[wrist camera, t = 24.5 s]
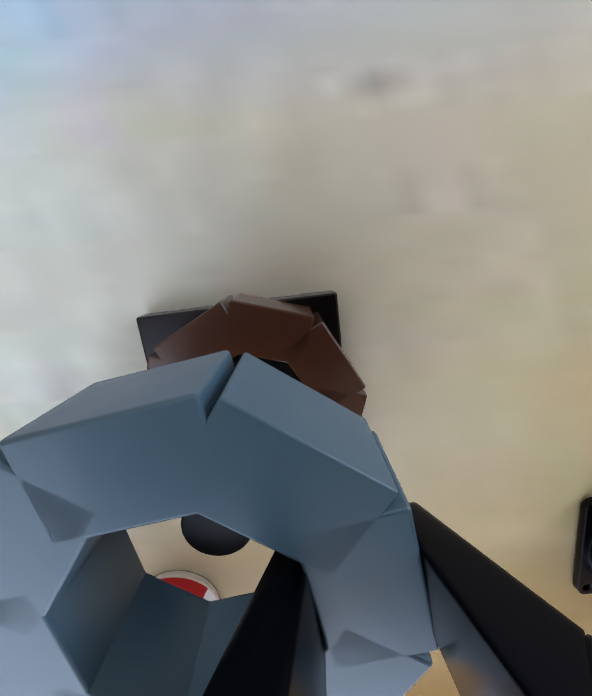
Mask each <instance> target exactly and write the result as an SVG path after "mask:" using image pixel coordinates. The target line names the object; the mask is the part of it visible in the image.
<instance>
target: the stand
mask: <svg viewBox="0 0 592 696" xmlns="http://www.w3.org/2000/svg"><path fill="white" fill-rule="evenodd" d="M268 299H272V300H277V301H283V302H288V303H293V304H298V305H303V306H308V307H310V308H311V311H312V313H315V312H318V313H319V315H320V316H321V318H322V320H323V321H324V323H325V324H326V326H327V327H328V329H329V330H330V332H331V333H332V335H333V336H334V338H335V339H336V341H337V342H338V344H339V345H340V347H341V348H342V345H341V334H340V323H339V313H338V302H337V294H336V292H334V291H324V292H316V293H308V294H300V295H292V296H284V297H276V298H268ZM213 306H214V305H213ZM213 306H205V307H197V308H189V309H181V310H173V311H165V312H157V313H150V314H145V315H143V316H140V317H138V318H137V324H138V328H139V332H140V336H141V340H142V344H143V348H144V352H145V356H146V360H147V364H148V357H149V356H150V355H151V354H153V353H154V352H155V351H154V350H153V348H154V347H155V346H157V345H158V344H160V343H161V342H162V341H164V340H165V339H167V338H168V337H170V336H171V335H173V334H174V333H175V332H177V331H178V330H180V329H181V328H183V327H184V326H185V325H187V324H188V323H190V322H191V321H193V320H194V319H195V318H197V317H198V316H200V315H201V314H203V313H204V312H206V311H207V310H208V309H210V308H211V307H213ZM241 357H242V355H241V354H238V355H237V356H235V357H234V358H232V360H233V363H234V366H235V367H236V365H237V364H238V362H239V360H240V359H241ZM256 358H258V357H256ZM258 359H260V360H261V361H263V362H265V363H267V364H268V365H270V366H272V367H274V368H276V369H277V370H279V371H281V372H283V373H284V374H286V375H288V376H290V377H292V378H293V379H295V380H297V381H299V382H301V381H300V380H299V378H298V377H297V376H296V374H295V373H294V371H293V370H292V369H291V367H290V366H289V364H288V363H285V362H279V361H274V360H268V359H263V358H258ZM181 528H182V533H183V535H184V537H185V539H186V540H187V542H188V543H189V544H190V545H191V546H192V547H193V548H195V549H196V550H198V551H200V552H202V553H205V554H208V555H214V556H223V555H229V554H232V553H234V552H237V551H238V550H240V549H241V548H243V547H244V546H245V545H246V544H247V543H248V541H249V540H250V538H248V537H245V536H243V535H241V534H239V533H237V532H235V531H233V530H231V529H229V528H227V527H225V526H223V525H220V524H218V523H216V522H214V521H212V520H210V519H208V518H206V517H204V516H202V515H200V514H193V515H189V516H184V517H182V519H181Z"/></svg>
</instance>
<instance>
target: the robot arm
mask: <svg viewBox="0 0 592 696" xmlns="http://www.w3.org/2000/svg"><path fill="white" fill-rule="evenodd" d="M409 505H410V507H411V510H412V515H413V520H414V525H415V530H416V535H417V540H418V545H419V551H420V556H421V561H422V566H423V572H424V577H425V583H426V589H427V594H428V601H429V608H430V615H431V621H432V628H433V635H434V637H435V639H436V642H437V644H438V646H439V649H440V651H441V653H442V655H443V658H444V660H445V662H446V664H447V667H448V669H449V671H450V673H451V676H452V678H453V680H454V682H455V685H456V687H457V689H458V691H459V694H460V696H592V636H591V635H589V634H587V635H586V636H585V632H584V630H583V629H581V628H580V627H579V626H578V625H576V624H575V623H574V622H572V621H571V620H570V619H568V618H567V617H566V616H564V615H563V614H562V613H560V612H559V611H558V610H556V609H555V608H554V607H553V606H551V605H550V604H549V603H547V602H546V601H545V600H543V599H542V598H541V597H539V596H538V595H537V594H535V593H534V592H533V591H531V590H530V589H529V588H528V587H526V586H525V585H524V584H522V583H521V582H520V581H518V580H517V579H516V578H514V577H513V576H512V575H510V574H509V573H508V572H506V571H505V570H504V569H503V568H501V567H500V566H499V565H497V564H496V563H495V562H493V561H492V560H491V559H489V558H488V557H487V556H485V555H484V554H483V553H482V552H480V551H479V550H478V549H476V548H475V547H474V546H472V545H471V544H470V543H468V542H467V541H466V540H464V539H463V538H462V537H460V536H459V535H458V534H457V533H455V532H454V531H453V530H451V529H450V528H449V527H447V526H446V525H445V524H443V523H442V522H441V521H439V520H438V519H437V518H435V517H434V516H433V515H432V514H430V513H429V512H428V511H426V510H425V509H424V508H422V507H421V506H420V505H418V504H417V503H415V502H411V503H409ZM573 585H574V586H575V587H576V589H577V590H578V591H579V592H580V593H582V594H590V593H592V497H589V498H586V499H585V500H584V501H583V502H582V503H581V507H580V517H579V527H578V536H577V546H576V556H575V565H574V575H573ZM202 696H327V688H326V654H325V643H324V637H323V633H322V630H321V627H320V623H319V620H318V616H317V613H316V609H315V606H314V602H313V598H312V594H311V590H310V586H309V583H308V579H307V575H306V573H304V571H303V569H302V565H301V563H300V562H298V561H296V560H293V559H291V558H289V557H287V556H285V555H283V554H281V553H279V552H277V551H275V552H274V554H273V556H272V558H271V560H270V562H269V564H268V566H267V568H266V570H265V572H264V574H263V576H262V578H261V580H260V582H259V584H258V586H257V588H256V590H255V592H254V594H253V596H252V598H251V600H250V602H249V604H248V606H247V608H246V610H245V612H244V614H243V616H242V618H241V620H240V622H239V624H238V625H237V627H236V629H235V631H234V633H233V635H232V637H231V639H230V641H229V643H228V645H227V647H226V649H225V651H224V653H223V655H222V657H221V659H220V661H219V663H218V665H217V667H216V669H215V671H214V673H213V675H212V677H211V679H210V681H209V683H208V685H207V687H206V689H205V691H204V693H203V695H202Z"/></svg>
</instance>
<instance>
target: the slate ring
mask: <svg viewBox="0 0 592 696" xmlns="http://www.w3.org/2000/svg"><path fill="white" fill-rule="evenodd" d="M193 514H200V515H202V516H204V517H206V518H208V519H210V520H212V521H214V522H216V523H218V524H220V525H223V526H225V527H227V528H229V529H231V530H233V531H235V532H237V533H239V534H241V535H243V536H245V537H248V538H250V539H252V540H254V541H256V542H258V543H260V544H262V545H264V546H266V547H268V548H271V549H273V550H275V551H277V552H279V553H281V554H283V555H285V556H287V557H289V558H291V559H293V560H296V561H298V562H300V563H301V565H302V569H303V571H304V573H306V575H307V579H308V583H309V586H310V590H311V594H312V598H313V602H314V606H315V609H316V613H317V616H318V620H319V623H320V627H321V630H322V633H323V637H324V643H325V654H326V688H327V696H404V695H405V694H406V693H407V692H408V691H409V689H410V688H411V687H412V686H413V685H414V684H415V683H416V682H417V681H418V680H419V679H420V678H421V677H422V676H423V675H424V674H425V672H426V671H427V670H428V669H429V668H430V667H431V665H432V659H431V656H430V653H429V652H431V651H436V650H437V649H438V644H437V642H436V639H435V637H434V635H433V628H432V621H431V615H430V608H429V601H428V594H427V589H426V583H425V577H424V572H423V566H422V561H421V556H420V551H419V545H418V540H417V535H416V530H415V525H414V520H413V515H412V510H411V507H410V505H409V503H408V501H407V498H406V496H405V494H404V492H403V490H402V488H401V486H400V484H399V481H398V479H397V477H396V475H395V473H394V471H393V469H392V467H391V464H390V462H389V460H388V458H387V456H386V454H385V452H384V450H383V447H382V445H381V443H380V441H379V439H378V437H377V435H376V433H375V432H374V431H371V430H370V428H369V426H368V423H367V421H366V419H365V418H363V417H361V416H359V415H358V414H356V413H354V412H352V411H350V410H349V409H347V408H345V407H343V406H342V405H340V404H338V403H336V402H334V401H333V400H331V399H329V398H327V397H325V396H324V395H322V394H320V393H318V392H317V391H315V390H313V389H311V388H309V387H308V386H306V385H304V384H302V383H301V382H299V381H297V380H295V379H293V378H292V377H290V376H288V375H286V374H284V373H283V372H281V371H279V370H277V369H276V368H274V367H272V366H270V365H268V364H267V363H265V362H263V361H261V360H260V359H258V358H256V357H254V356H252V355H251V354H249V353H246V352H245V353H244V354H243V355H242V357H241V359H240V360H239V362H238V364H237V365H236V367H235V366H234V363H233V360H232V357H231V354H230V352H229V351H226V350H225V351H221V352H217V353H213V354H209V355H205V356H201V357H197V358H193V359H189V360H185V361H181V362H177V363H173V364H169V365H165V366H160V367H156V368H152V369H148V370H144V371H140V372H136V373H132V374H128V375H124V376H120V377H116V378H112V379H108V380H104V381H100V382H96V383H94V384H92V385H90V386H89V387H87V388H86V389H84V390H82V391H81V392H79V393H77V394H76V395H74V396H73V397H71V398H69V399H68V400H66V401H64V402H63V403H61V404H59V405H58V406H56V407H55V408H53V409H51V410H50V411H48V412H46V413H45V414H43V415H42V416H40V417H38V418H37V419H35V420H33V421H32V422H30V423H29V424H27V425H25V426H24V427H22V428H20V429H19V430H17V431H16V432H14V433H12V434H11V435H9V436H7V437H6V438H4V439H3V440H2V441H1V442H0V696H202V695H203V693H204V691H205V689H206V687H207V685H208V683H209V681H210V679H211V677H212V675H213V673H214V671H215V669H216V667H217V665H218V663H219V661H220V659H221V657H222V655H223V653H224V651H225V649H226V647H227V645H228V643H229V641H230V639H231V637H232V635H233V633H234V631H235V629H236V627H237V625H238V624H239V622H240V620H241V618H242V616H243V614H244V612H245V610H246V608H247V606H248V604H249V602H250V600H251V598H252V596H253V594H254V592H253V593H248V594H243V595H239V596H234V597H229V598H224V599H219V600H214V601H208V600H206V599H204V598H201V597H199V596H197V595H195V594H192V593H190V592H188V591H186V590H183V589H181V588H179V587H177V586H174V585H172V584H170V583H168V582H165V581H163V580H161V579H159V578H156V577H154V576H152V575H150V574H147V573H145V571H144V568H143V566H142V564H141V562H140V560H139V557H138V555H137V553H136V551H135V549H134V546H133V544H132V542H131V540H130V538H129V535H128V533H127V531H126V529H130V528H135V527H139V526H144V525H148V524H153V523H157V522H162V521H166V520H171V519H175V518H180V517H184V516H189V515H193Z"/></svg>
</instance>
